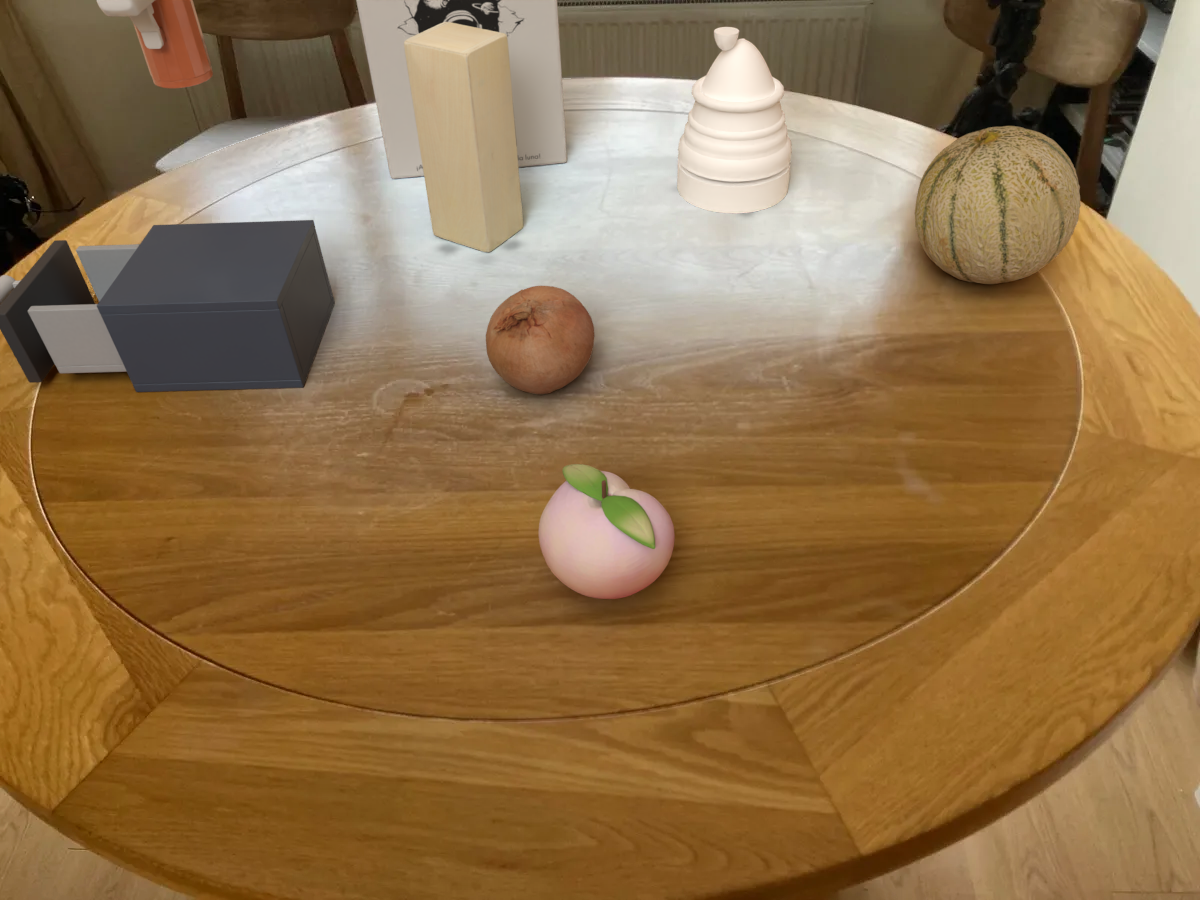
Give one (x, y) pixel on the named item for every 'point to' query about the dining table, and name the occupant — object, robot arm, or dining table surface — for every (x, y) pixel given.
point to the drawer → (62, 311)
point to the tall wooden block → (466, 133)
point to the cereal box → (530, 20)
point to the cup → (177, 46)
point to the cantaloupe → (997, 205)
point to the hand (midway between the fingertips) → (169, 33)
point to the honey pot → (735, 134)
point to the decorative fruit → (604, 534)
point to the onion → (540, 339)
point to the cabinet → (220, 306)
